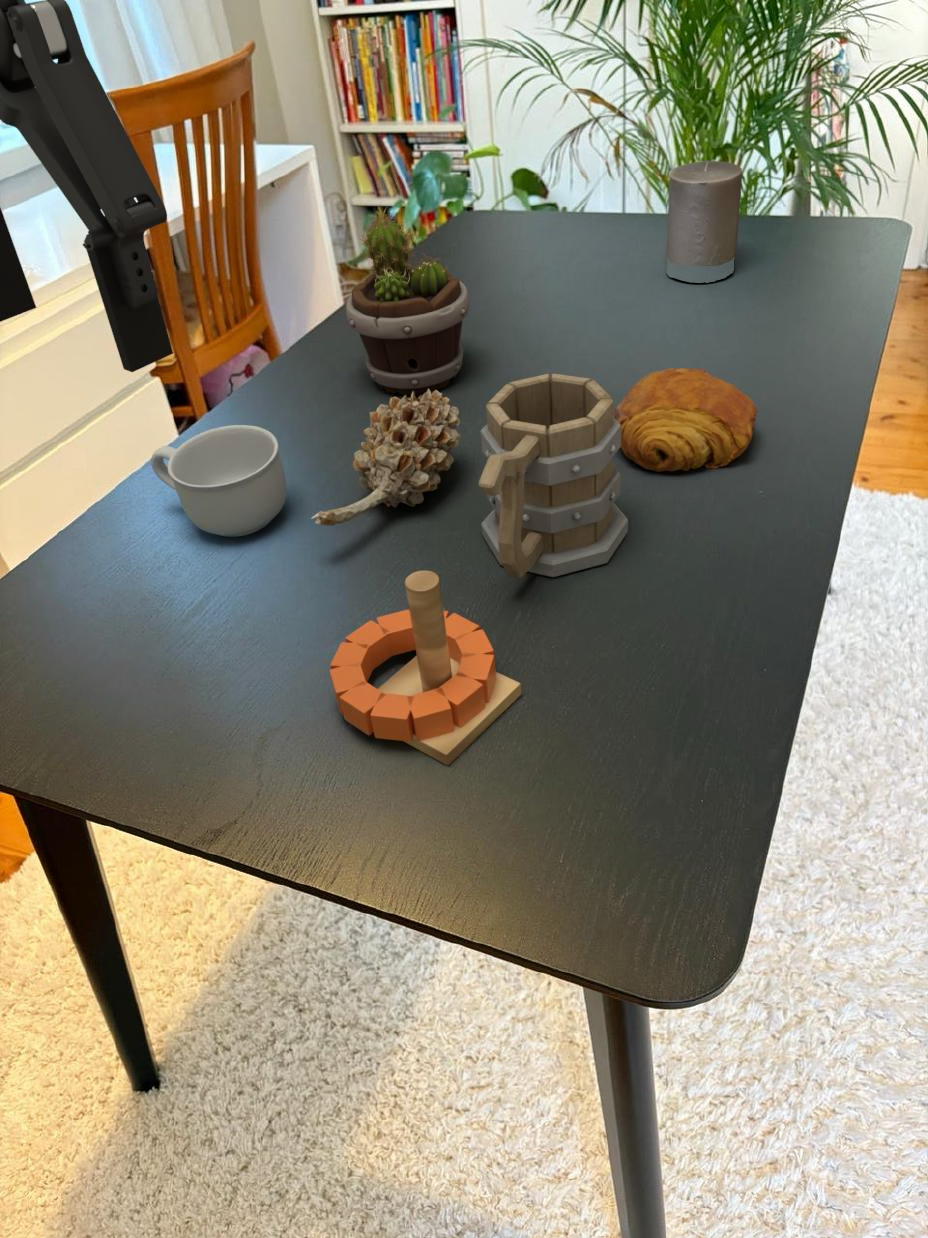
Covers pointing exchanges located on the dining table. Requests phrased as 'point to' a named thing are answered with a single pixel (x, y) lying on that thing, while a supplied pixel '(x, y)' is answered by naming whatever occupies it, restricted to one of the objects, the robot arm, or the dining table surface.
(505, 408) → the tankard
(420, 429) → the pine cone
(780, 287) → the dining table surface
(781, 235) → the dining table surface
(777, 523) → the dining table surface
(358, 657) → the ring
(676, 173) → the pillar candle
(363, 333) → the flowerpot
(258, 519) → the teacup
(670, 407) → the croissant
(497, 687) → the rack
